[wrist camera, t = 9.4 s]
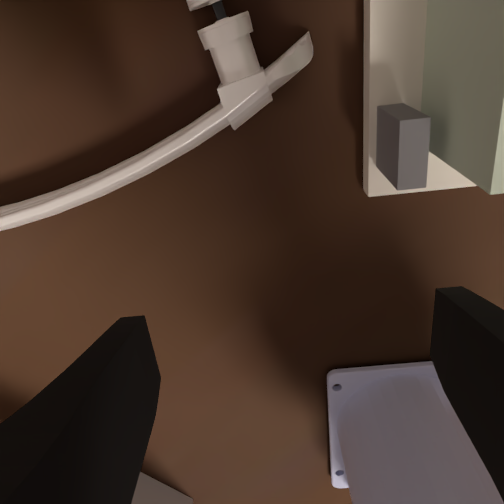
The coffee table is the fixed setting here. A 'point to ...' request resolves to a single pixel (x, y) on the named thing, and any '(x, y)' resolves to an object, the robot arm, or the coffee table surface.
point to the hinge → (157, 492)
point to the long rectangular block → (466, 88)
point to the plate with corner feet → (398, 104)
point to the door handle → (224, 114)
